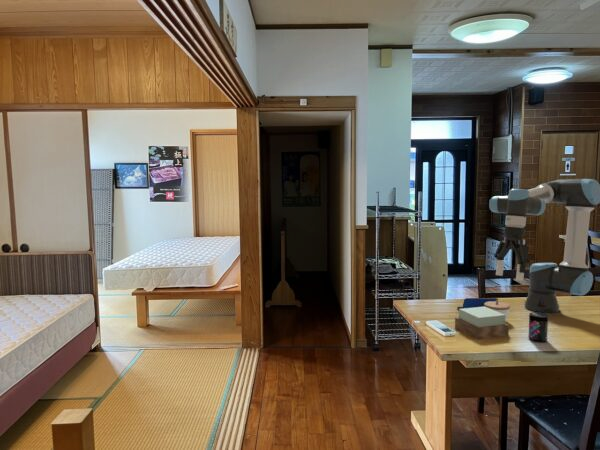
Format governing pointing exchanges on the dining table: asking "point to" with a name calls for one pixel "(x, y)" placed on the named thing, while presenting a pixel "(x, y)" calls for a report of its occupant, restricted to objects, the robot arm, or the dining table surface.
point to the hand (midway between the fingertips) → (508, 277)
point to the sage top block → (482, 316)
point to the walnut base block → (481, 329)
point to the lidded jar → (498, 307)
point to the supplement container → (538, 327)
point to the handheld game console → (475, 302)
